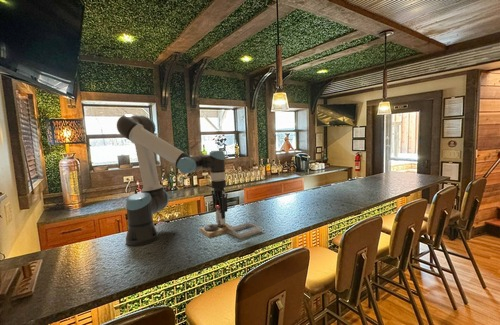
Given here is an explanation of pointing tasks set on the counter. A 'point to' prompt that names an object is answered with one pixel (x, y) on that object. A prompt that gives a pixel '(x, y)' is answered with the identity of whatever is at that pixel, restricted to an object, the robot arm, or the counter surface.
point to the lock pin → (218, 216)
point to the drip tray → (241, 235)
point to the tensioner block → (214, 230)
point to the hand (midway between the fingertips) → (220, 223)
